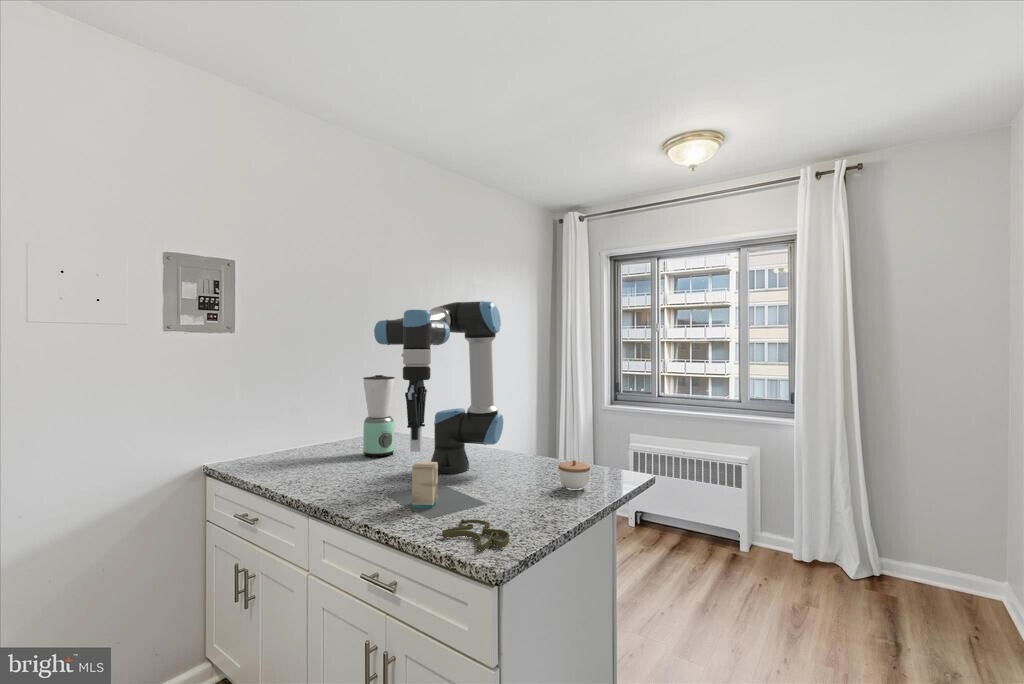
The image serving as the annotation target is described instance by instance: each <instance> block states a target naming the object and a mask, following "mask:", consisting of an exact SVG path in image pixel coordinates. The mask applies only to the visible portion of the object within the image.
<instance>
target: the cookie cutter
mask: <svg viewBox="0 0 1024 684" xmlns="http://www.w3.org/2000/svg"><path fill="white" fill-rule="evenodd" d="M463 523H464V524H466V525H464V524H463ZM467 523H468V524H467ZM473 523H480V524H484V526H483V527H482V535H483V534H486V535H485V536H488V535H491V536H489V538H488V540H487V541H486V542H484V543H482V536H481V535H480V534H479V533H477V532H475V531H472V529H474V524H473ZM488 528H489V529H488ZM498 535H499V536H498ZM441 536H443V537H444V539H445V538H446V539H448V538H447V537H454V538H458V537H457V536H465V537H464V538H467V537H472V538H475V539H477V540H478V541H479V542H478V541H477V540H476V541H477V542H478V543H477V551H478V550H480V551H479V552H481V551H484V550H485V549H487V548H488V547H489V548H490V546H491V545H492V544H493V545H492V546H494V545H495V546H494V547H496V546H498V547H501V548H500V549H503V548H502V547H504V546H506V545H507V544H508V543H509V544H510V533H509V532H508V531H506V530H504V529H497V528H490V522H489V521H485V520H482V519H466V520H465V519H460V521H459V526H457V527H451V528H445V529H443V530H442V531H441ZM466 536H467V537H466ZM500 536H503V537H502V538H504V537H506V538H504V540H499V537H500ZM443 537H442V538H443ZM472 538H471V539H472ZM475 539H474V540H475ZM491 542H492V543H491ZM490 544H491V545H490ZM509 544H508V545H509ZM489 545H490V546H489ZM508 545H507V546H508ZM507 546H506V547H507ZM498 547H497V548H498ZM489 548H488V549H489ZM504 548H505V547H504ZM488 549H487V550H488ZM485 551H486V550H485ZM485 551H484V552H485Z"/></svg>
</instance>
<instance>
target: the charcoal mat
mask: <svg viewBox="0 0 1024 684" xmlns="http://www.w3.org/2000/svg"><path fill="white" fill-rule="evenodd" d="M384 496H385V497H388V498H389V499H391V500H393V501H395V502H397V503H399V505H400V504H401V505H402V506H404V507H406V508H408V509H409V510H412V511H413V512H415V513H417V514H418V515H421V516H422V517H424V518H427V520H431V519H436V518H440V517H443V516H447V515H451V514H455V513H458V512H462V511H466V510H471V509H474V508H478V507H482V506H486V505H488V503H487V502H484V501H483V500H480V499H478V498H476V497H473V496H471V495H469V494H466V493H463V492H461V491H459V490H458V489H457V490H456V489H455V488H452V487H449V486H447V485H445V484H443V483H440V482H438V502H437V503H436V505H435V506H434V507H433V509H427V508H412V488H409V489H405V490H400V491H395V492H390V493H386V494H385V493H384Z"/></svg>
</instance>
